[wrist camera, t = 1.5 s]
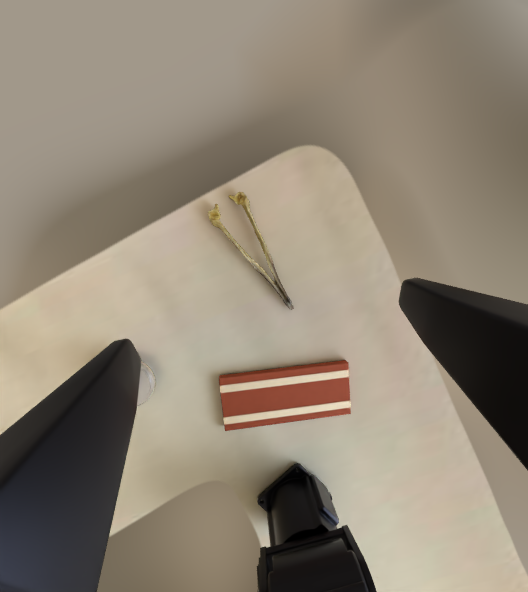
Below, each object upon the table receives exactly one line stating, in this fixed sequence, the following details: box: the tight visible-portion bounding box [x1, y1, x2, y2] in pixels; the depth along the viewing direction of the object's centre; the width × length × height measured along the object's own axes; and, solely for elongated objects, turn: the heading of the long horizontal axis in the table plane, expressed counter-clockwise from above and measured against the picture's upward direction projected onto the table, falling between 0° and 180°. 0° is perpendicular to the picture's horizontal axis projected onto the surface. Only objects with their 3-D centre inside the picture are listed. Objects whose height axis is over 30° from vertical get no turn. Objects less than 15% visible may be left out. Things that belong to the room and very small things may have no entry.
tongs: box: [208, 192, 294, 310], centre depth 25 cm, size 4×13×2 cm, turn 38°
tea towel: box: [219, 360, 351, 431], centre depth 28 cm, size 14×6×1 cm, turn 95°
